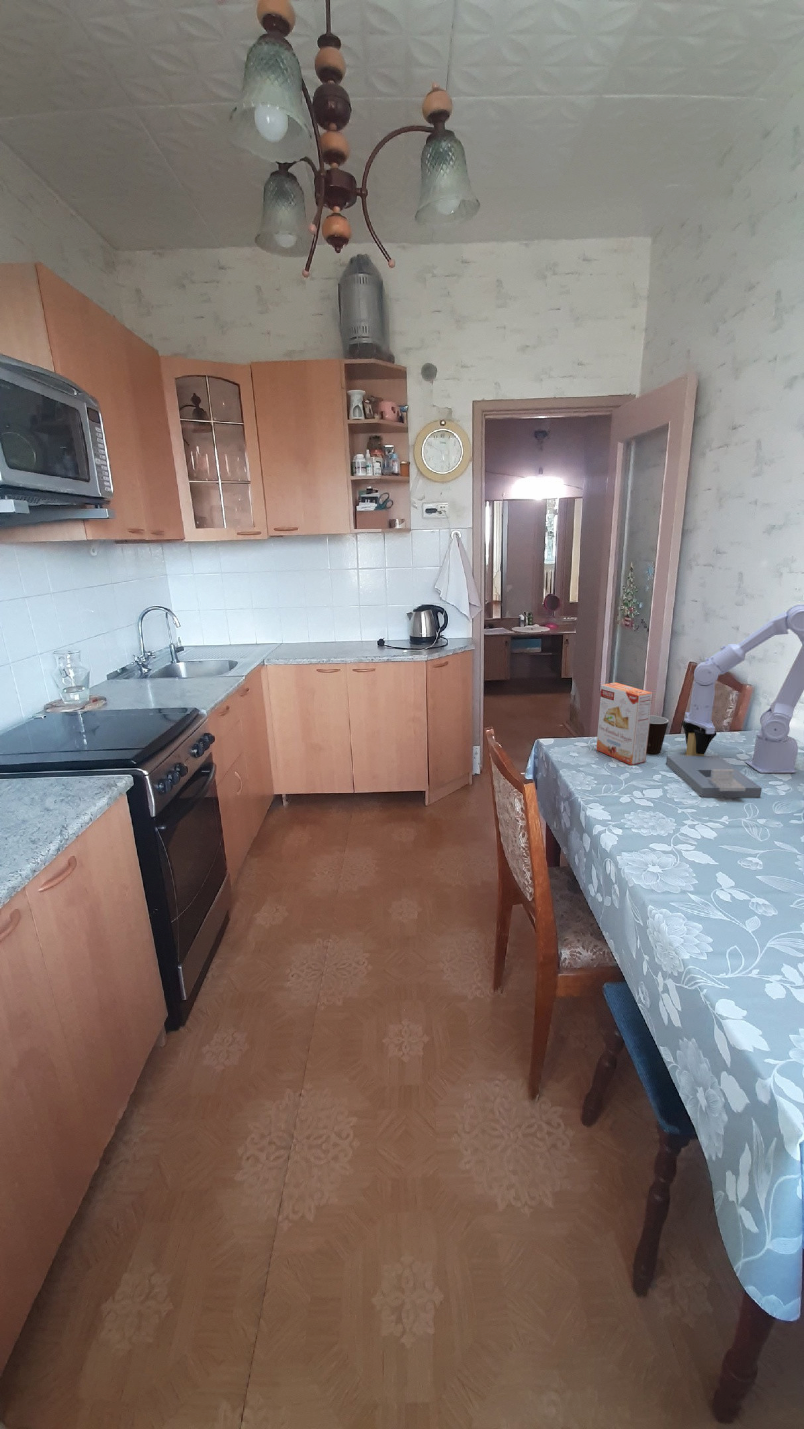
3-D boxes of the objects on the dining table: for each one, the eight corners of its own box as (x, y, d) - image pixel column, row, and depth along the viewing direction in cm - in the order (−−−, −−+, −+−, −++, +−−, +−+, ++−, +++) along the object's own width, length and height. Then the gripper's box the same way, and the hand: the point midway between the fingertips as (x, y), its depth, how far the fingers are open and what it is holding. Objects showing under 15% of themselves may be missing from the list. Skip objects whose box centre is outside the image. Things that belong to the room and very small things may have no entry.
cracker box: (594, 750, 172) (600, 683, 166) (609, 747, 174) (615, 681, 168) (630, 766, 159) (637, 694, 153) (646, 762, 162) (654, 691, 156)
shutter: (732, 781, 142) (734, 769, 141) (745, 791, 136) (747, 778, 135) (707, 781, 142) (709, 769, 141) (719, 791, 136) (721, 778, 135)
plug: (697, 755, 166) (701, 732, 164) (703, 759, 163) (706, 736, 161) (685, 755, 166) (688, 732, 164) (690, 759, 163) (693, 736, 161)
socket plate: (716, 763, 160) (718, 755, 159) (760, 797, 139) (761, 787, 138) (666, 763, 160) (667, 755, 160) (701, 797, 139) (702, 787, 139)
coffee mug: (669, 755, 166) (673, 723, 163) (640, 756, 166) (643, 724, 163) (653, 742, 177) (657, 712, 174) (625, 743, 178) (628, 712, 175)
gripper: (676, 697, 167) (671, 741, 171) (698, 711, 153) (692, 758, 157) (701, 697, 167) (695, 741, 171) (725, 711, 153) (718, 758, 157)
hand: (695, 749), depth 164 cm, fingers open, 6 cm apart
